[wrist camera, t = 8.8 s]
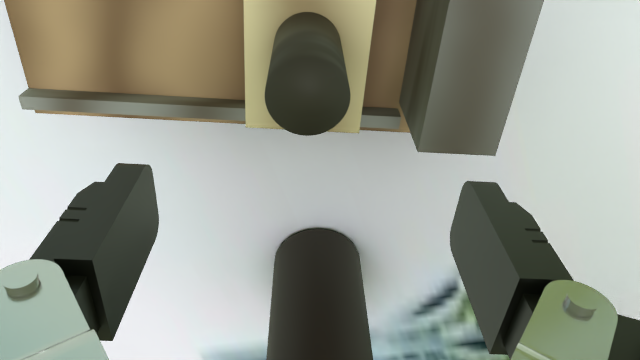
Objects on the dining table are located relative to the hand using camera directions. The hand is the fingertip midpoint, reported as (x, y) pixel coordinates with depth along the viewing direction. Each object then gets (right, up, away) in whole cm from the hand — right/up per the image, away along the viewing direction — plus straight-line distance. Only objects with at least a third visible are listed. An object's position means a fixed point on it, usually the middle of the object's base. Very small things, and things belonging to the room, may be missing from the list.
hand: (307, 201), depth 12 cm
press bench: (-3, +10, +15) cm, 18 cm away
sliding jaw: (0, +9, +14) cm, 16 cm away
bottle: (0, -6, +26) cm, 27 cm away
